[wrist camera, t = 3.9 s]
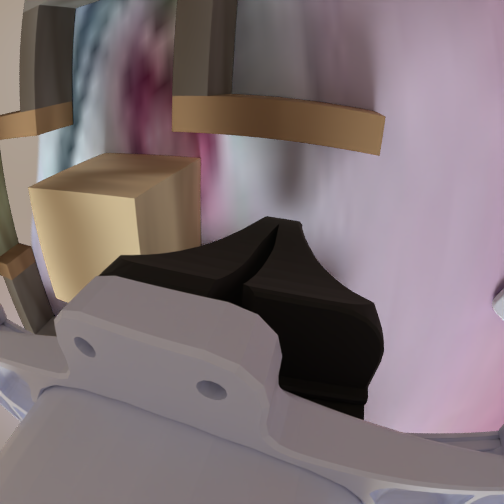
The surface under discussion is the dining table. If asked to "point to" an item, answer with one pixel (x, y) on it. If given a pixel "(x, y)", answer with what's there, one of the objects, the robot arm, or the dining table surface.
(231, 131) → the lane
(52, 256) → the block
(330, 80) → the dining table surface
